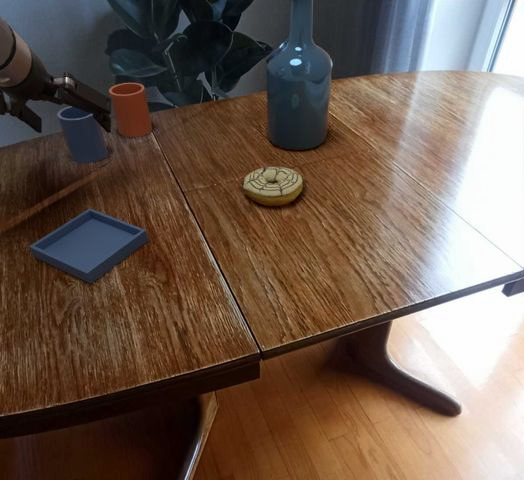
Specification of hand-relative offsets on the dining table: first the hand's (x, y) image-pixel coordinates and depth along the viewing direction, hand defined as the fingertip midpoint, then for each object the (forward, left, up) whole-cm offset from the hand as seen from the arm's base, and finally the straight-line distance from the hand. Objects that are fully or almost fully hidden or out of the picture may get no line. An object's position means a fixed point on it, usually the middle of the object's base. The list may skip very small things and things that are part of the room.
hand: (74, 125), depth 89 cm
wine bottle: (+30, +34, -9) cm, 46 cm away
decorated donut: (+38, +11, -9) cm, 41 cm away
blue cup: (-2, +3, -9) cm, 9 cm away
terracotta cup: (-2, +17, -9) cm, 19 cm away
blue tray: (+21, -19, -9) cm, 30 cm away
